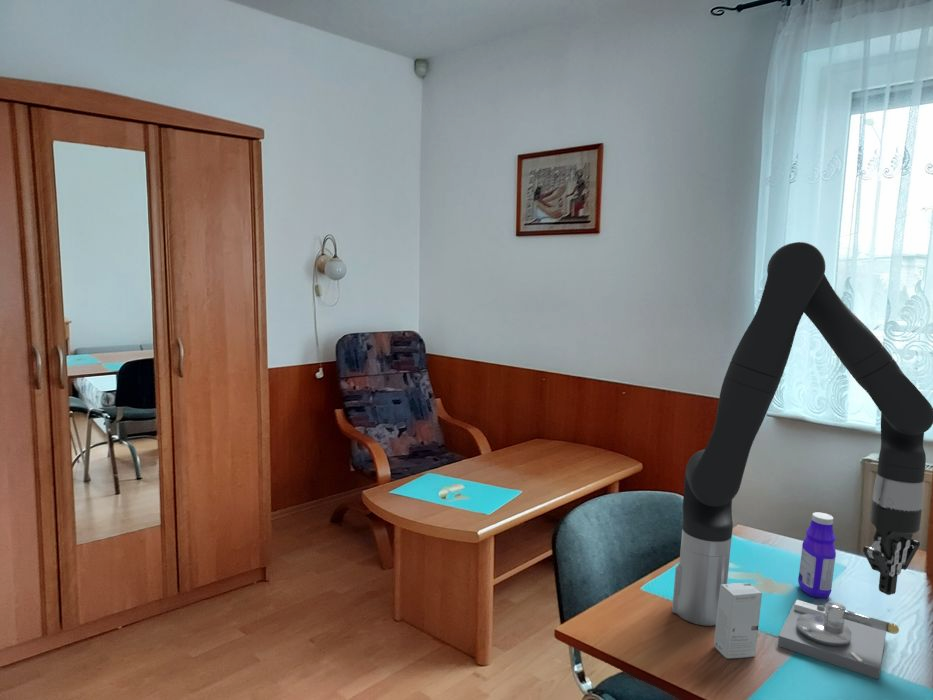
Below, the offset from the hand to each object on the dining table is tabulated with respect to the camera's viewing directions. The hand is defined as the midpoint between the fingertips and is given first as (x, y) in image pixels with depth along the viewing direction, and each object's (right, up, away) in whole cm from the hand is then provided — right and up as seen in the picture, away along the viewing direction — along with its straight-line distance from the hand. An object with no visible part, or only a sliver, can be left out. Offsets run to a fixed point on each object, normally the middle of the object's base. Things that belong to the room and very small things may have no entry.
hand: (886, 592), depth 122 cm
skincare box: (-28, -11, 0) cm, 30 cm away
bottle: (-1, -9, +23) cm, 25 cm away
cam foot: (-7, -9, +1) cm, 12 cm away
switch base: (-8, -11, +4) cm, 14 cm away
